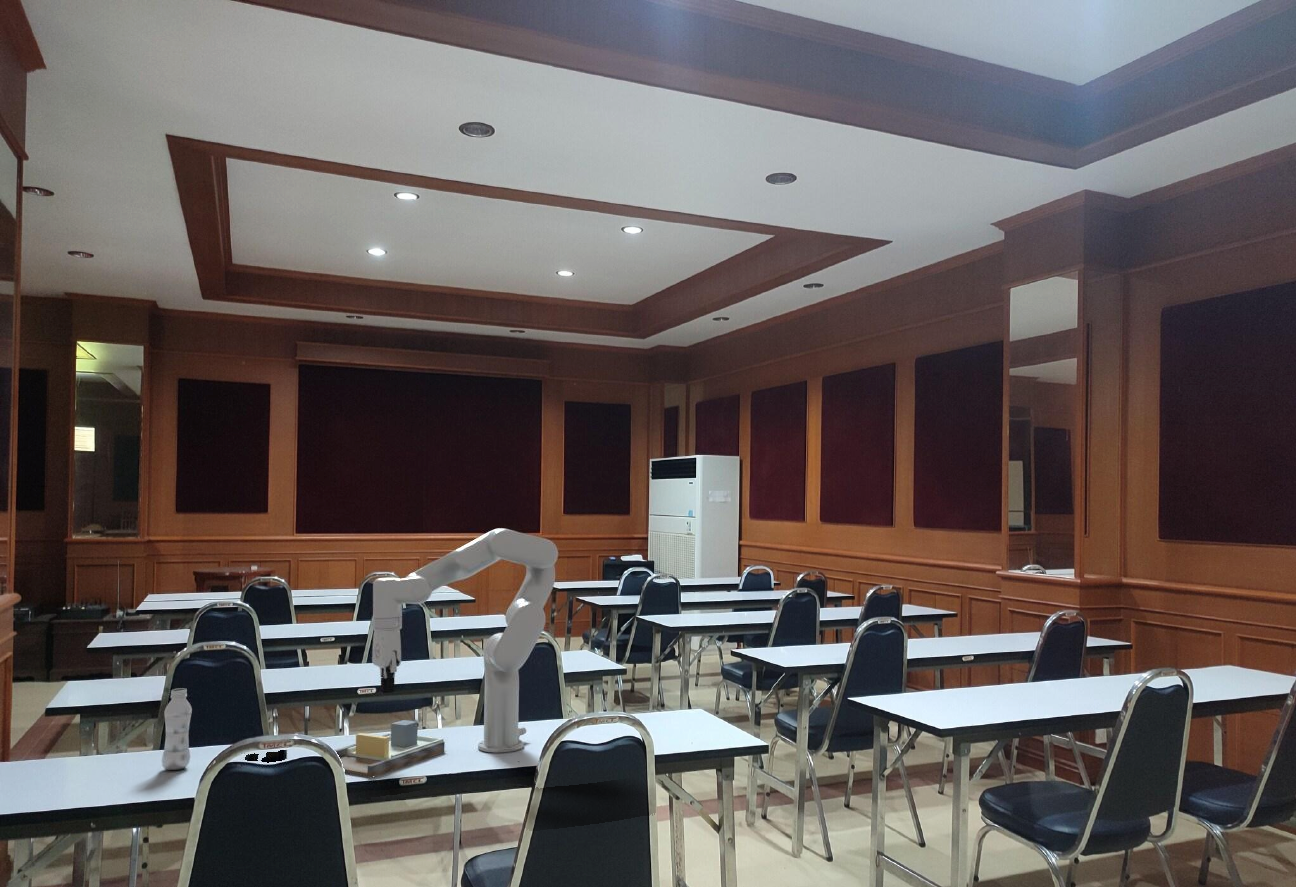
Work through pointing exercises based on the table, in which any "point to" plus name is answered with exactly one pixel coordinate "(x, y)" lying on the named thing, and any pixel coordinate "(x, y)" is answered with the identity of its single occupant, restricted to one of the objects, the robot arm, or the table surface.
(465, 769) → the table surface
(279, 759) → the end cap
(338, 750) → the guide base
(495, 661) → the robot arm
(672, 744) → the table surface
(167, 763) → the plastic bottle
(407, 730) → the slate block
